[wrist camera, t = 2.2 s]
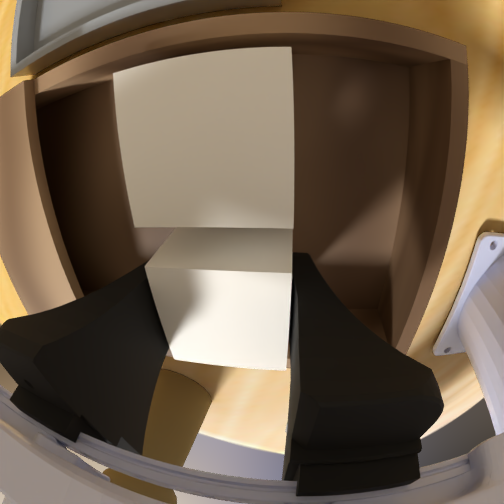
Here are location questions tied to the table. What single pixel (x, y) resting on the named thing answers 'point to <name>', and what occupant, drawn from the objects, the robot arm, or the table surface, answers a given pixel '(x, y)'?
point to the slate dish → (93, 24)
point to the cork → (168, 430)
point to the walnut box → (305, 162)
